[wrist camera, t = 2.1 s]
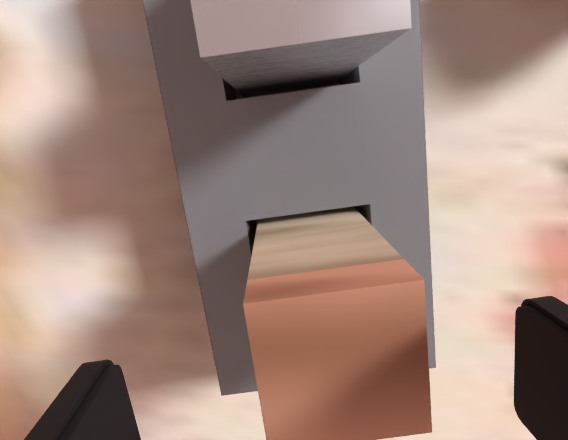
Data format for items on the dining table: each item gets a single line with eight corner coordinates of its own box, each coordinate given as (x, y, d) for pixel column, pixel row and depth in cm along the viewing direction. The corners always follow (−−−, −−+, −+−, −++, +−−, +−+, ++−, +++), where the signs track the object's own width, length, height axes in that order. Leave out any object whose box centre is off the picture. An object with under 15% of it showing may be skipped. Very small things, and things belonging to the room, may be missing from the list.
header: (401, 315, 23) (435, 367, 18) (233, 338, 23) (221, 395, 18) (373, -98, 18) (410, -182, 13) (158, -67, 18) (114, -140, 13)
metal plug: (332, 84, 19) (411, 28, 8) (243, 96, 19) (200, 57, 8) (322, -14, 18) (397, -238, 7) (229, -1, 18) (155, -202, 7)
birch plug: (350, 273, 22) (431, 432, 10) (272, 283, 22) (268, 453, 10) (343, 195, 20) (424, 279, 9) (260, 206, 21) (242, 303, 9)
